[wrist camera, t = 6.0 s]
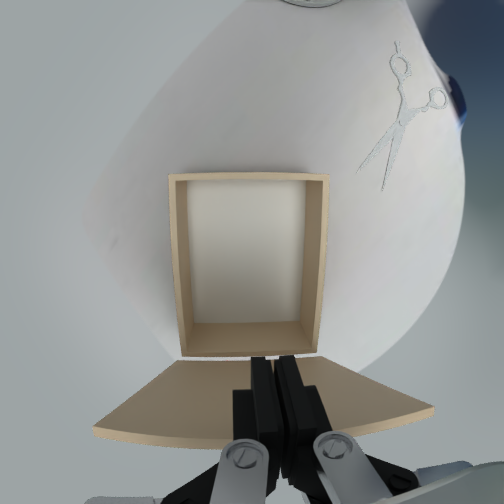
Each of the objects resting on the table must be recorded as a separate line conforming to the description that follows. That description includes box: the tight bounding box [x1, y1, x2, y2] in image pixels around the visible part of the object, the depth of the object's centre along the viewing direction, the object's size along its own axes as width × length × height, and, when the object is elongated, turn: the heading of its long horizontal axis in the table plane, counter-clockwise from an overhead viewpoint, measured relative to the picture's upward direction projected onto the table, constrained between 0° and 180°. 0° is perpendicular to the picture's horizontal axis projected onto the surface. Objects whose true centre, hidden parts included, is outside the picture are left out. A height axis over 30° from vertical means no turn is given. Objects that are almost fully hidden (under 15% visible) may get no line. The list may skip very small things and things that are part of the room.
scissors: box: [356, 40, 448, 190], centre depth 31 cm, size 11×1×20 cm
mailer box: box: [168, 172, 329, 357], centre depth 31 cm, size 18×14×7 cm
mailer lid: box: [93, 356, 435, 450], centre depth 20 cm, size 20×15×1 cm
